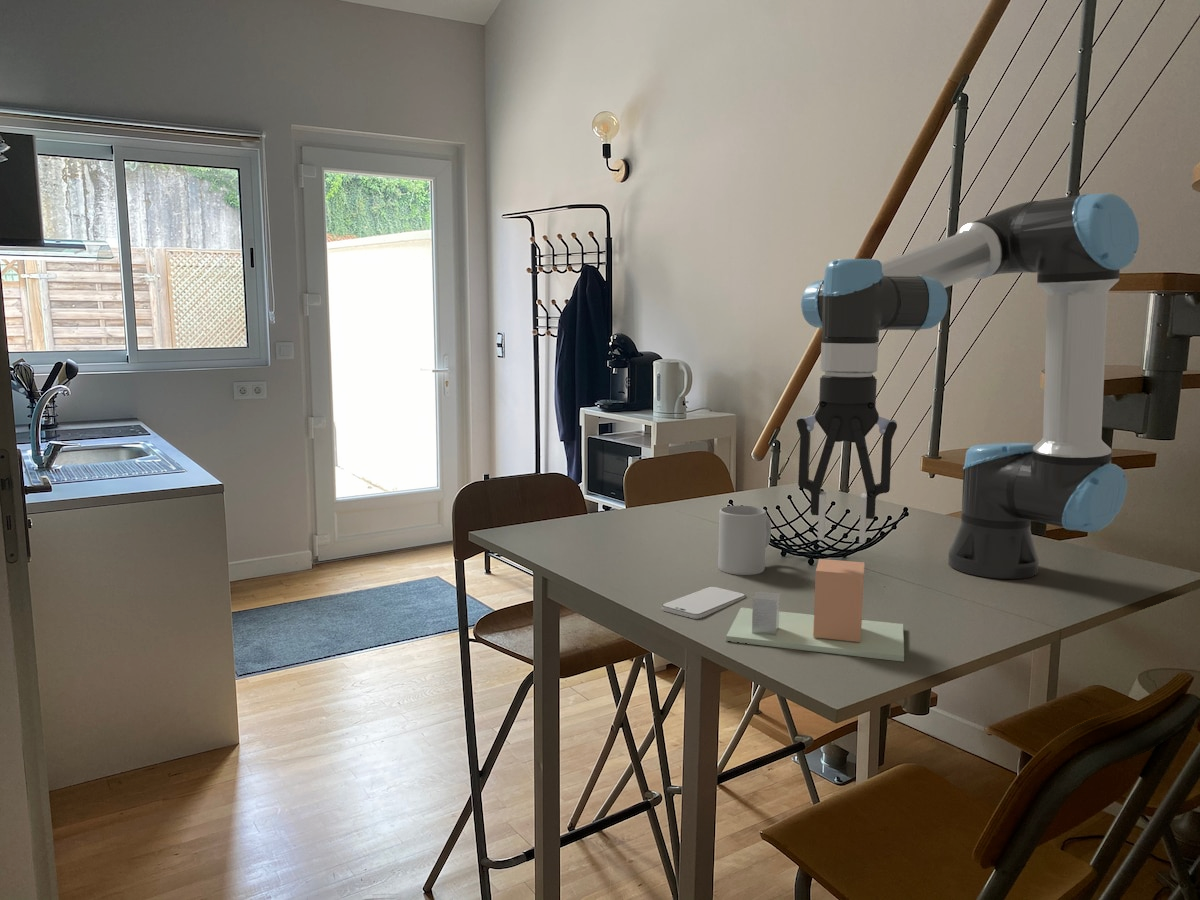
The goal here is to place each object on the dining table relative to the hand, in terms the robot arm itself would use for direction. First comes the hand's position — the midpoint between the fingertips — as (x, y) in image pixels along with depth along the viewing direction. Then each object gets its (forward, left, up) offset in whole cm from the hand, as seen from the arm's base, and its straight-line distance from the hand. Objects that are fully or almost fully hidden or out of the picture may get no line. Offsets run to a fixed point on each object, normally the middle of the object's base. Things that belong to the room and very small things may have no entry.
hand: (841, 538), depth 125 cm
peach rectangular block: (0, 0, -14) cm, 14 cm away
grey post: (+10, +2, -15) cm, 18 cm away
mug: (+18, -33, -15) cm, 40 cm away
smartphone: (+21, -10, -15) cm, 28 cm away
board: (+3, 0, -15) cm, 15 cm away
